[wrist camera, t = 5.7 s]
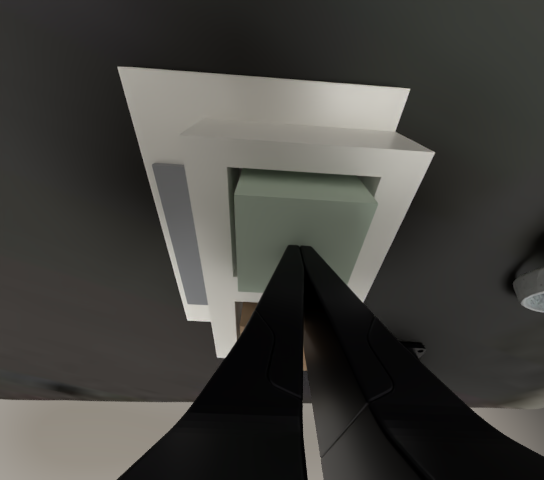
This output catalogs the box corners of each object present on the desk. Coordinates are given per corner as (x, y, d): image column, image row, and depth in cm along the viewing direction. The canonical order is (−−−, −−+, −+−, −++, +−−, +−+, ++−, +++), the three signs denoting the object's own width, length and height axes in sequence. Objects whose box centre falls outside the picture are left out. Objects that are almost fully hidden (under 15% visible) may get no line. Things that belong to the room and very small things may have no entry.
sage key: (352, 169, 9) (378, 203, 7) (329, 251, 12) (342, 296, 10) (244, 162, 9) (234, 194, 7) (245, 246, 12) (237, 291, 9)
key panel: (399, 87, 9) (462, 96, 6) (323, 316, 19) (332, 366, 16) (131, 66, 9) (53, 65, 6) (191, 309, 19) (173, 359, 16)
